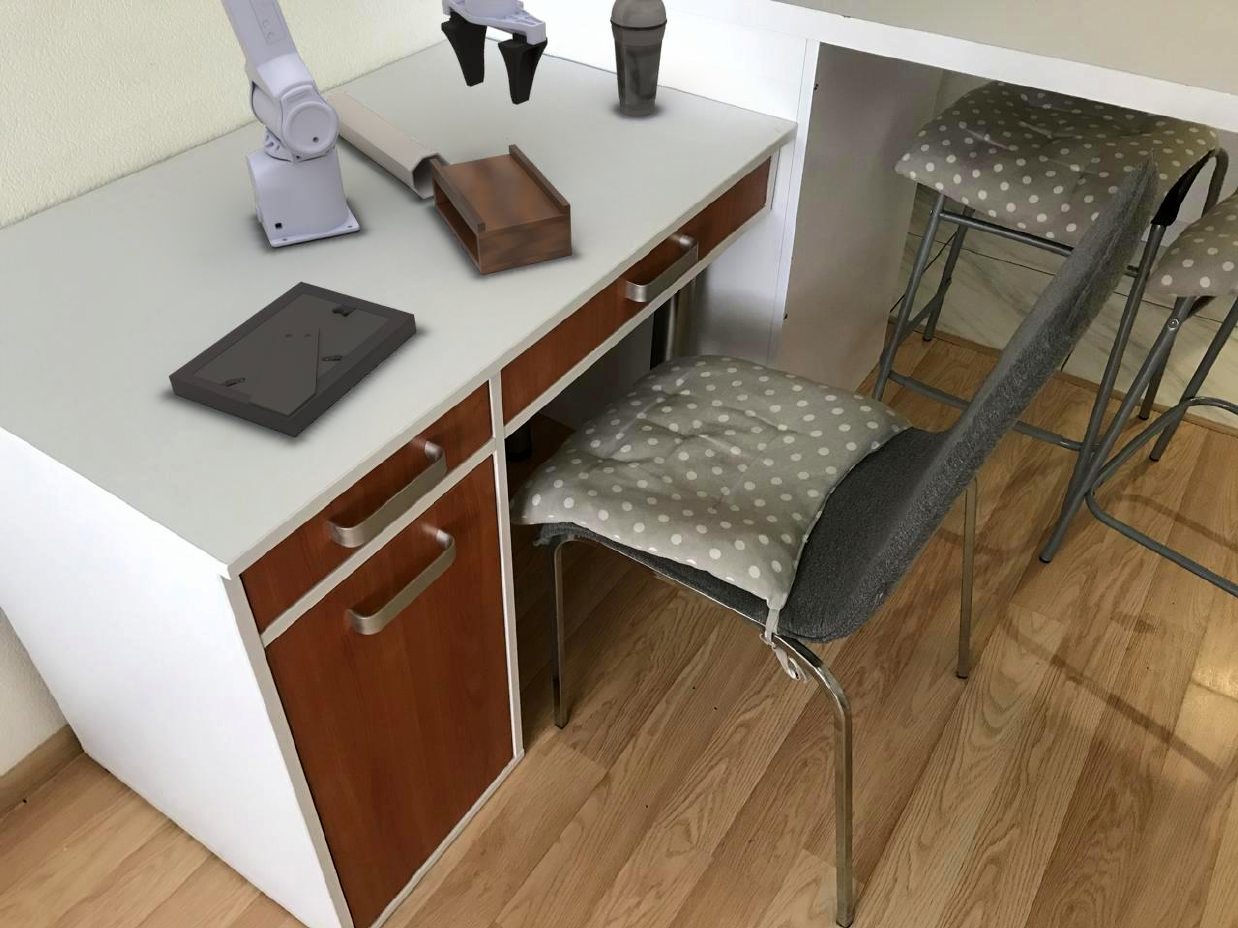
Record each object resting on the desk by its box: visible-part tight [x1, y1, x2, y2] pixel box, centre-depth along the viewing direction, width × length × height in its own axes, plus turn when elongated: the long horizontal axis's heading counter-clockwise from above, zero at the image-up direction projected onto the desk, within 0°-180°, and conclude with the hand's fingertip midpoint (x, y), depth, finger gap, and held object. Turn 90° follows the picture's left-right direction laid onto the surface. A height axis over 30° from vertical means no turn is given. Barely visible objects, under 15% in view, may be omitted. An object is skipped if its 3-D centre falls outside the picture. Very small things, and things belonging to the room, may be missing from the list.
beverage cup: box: [609, 0, 668, 117], centre depth 134 cm, size 7×7×20 cm
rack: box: [430, 143, 573, 275], centre depth 113 cm, size 10×16×6 cm, turn 25°
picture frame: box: [168, 281, 417, 438], centre depth 95 cm, size 13×2×18 cm
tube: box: [326, 91, 451, 200], centre depth 127 cm, size 5×5×25 cm
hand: (497, 92), depth 120 cm, fingers open, 7 cm apart
